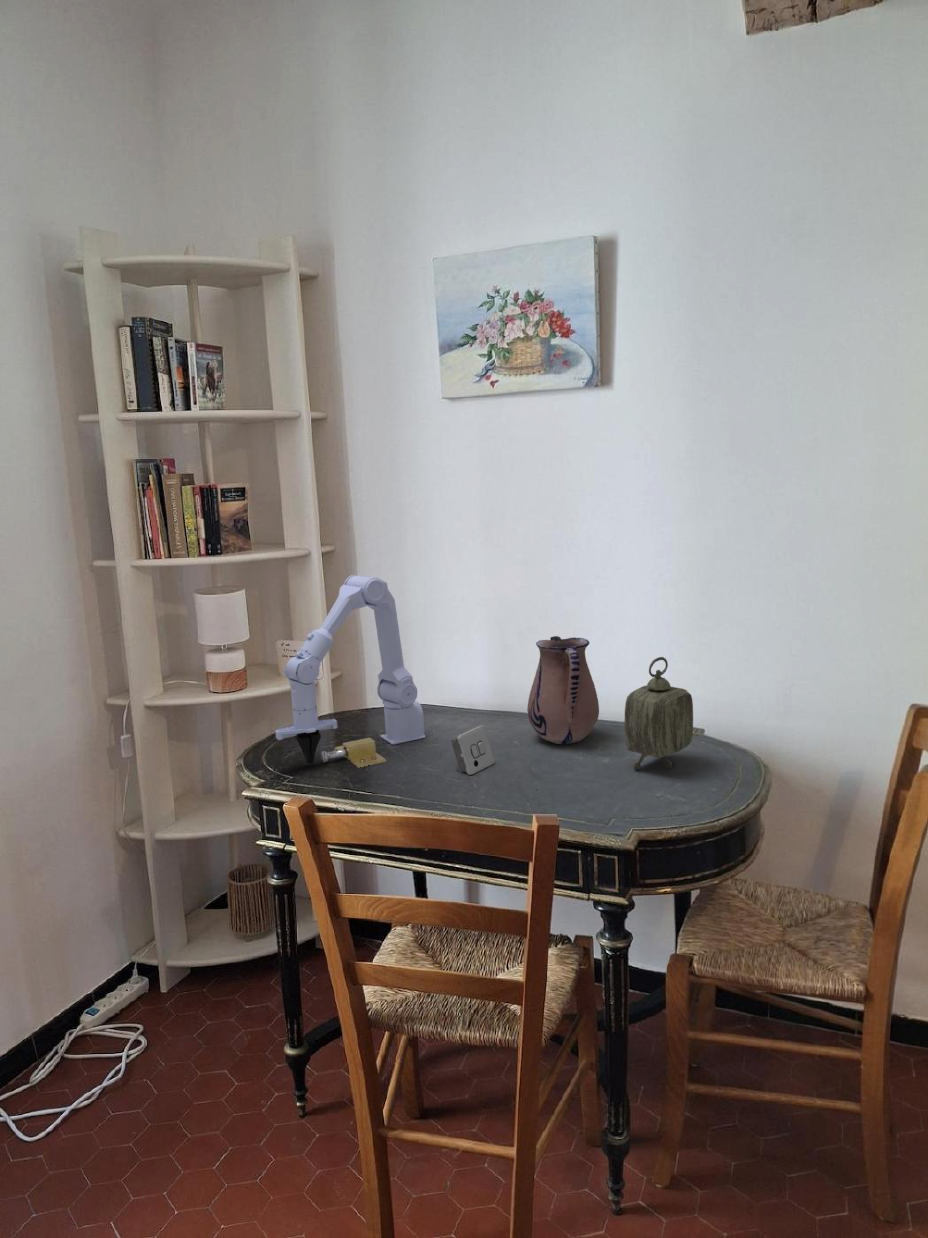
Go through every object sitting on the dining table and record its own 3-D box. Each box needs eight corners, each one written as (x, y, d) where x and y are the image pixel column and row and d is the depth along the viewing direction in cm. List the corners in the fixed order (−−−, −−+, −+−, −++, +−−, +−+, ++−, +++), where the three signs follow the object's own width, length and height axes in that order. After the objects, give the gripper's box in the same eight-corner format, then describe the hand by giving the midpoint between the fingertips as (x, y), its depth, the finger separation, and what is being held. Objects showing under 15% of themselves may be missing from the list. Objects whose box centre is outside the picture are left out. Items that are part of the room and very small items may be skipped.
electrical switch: (470, 776, 206) (465, 736, 204) (453, 774, 209) (447, 735, 208) (495, 764, 213) (490, 725, 212) (478, 762, 216) (473, 724, 215)
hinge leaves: (361, 744, 232) (360, 731, 231) (386, 761, 218) (385, 748, 217) (335, 749, 229) (333, 736, 228) (358, 768, 215) (357, 754, 214)
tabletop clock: (661, 753, 214) (660, 649, 209) (696, 761, 207) (695, 654, 202) (625, 771, 204) (623, 662, 199) (659, 780, 197) (658, 667, 193)
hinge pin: (355, 753, 224) (355, 743, 224) (359, 756, 222) (359, 746, 221) (322, 760, 220) (321, 750, 220) (325, 763, 218) (324, 753, 217)
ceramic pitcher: (580, 724, 238) (577, 630, 234) (619, 748, 219) (616, 646, 214) (518, 734, 233) (514, 638, 228) (551, 759, 213) (548, 655, 209)
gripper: (279, 717, 208) (285, 773, 211) (339, 705, 215) (344, 760, 217) (270, 710, 214) (276, 765, 217) (329, 699, 221) (334, 752, 223)
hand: (309, 762), depth 217 cm, fingers closed
